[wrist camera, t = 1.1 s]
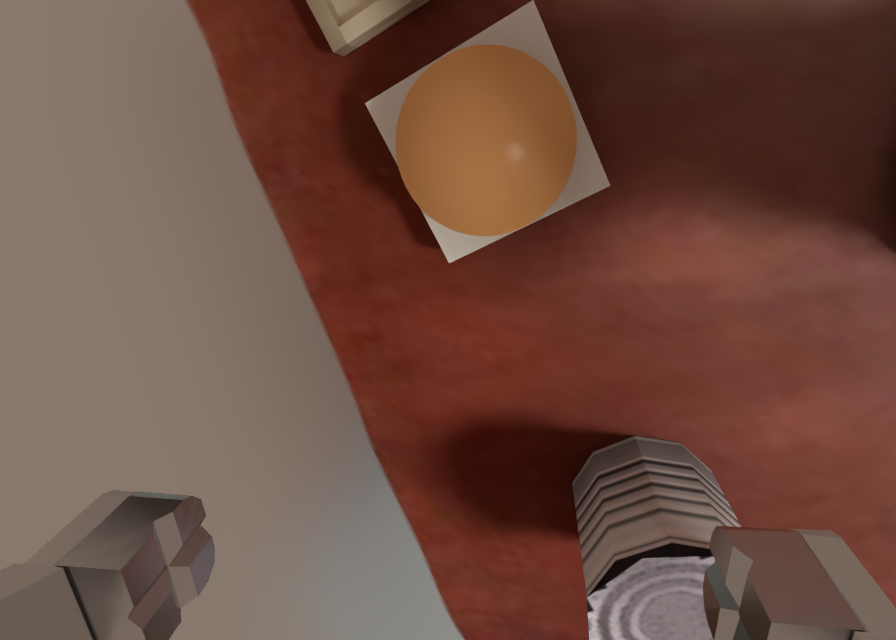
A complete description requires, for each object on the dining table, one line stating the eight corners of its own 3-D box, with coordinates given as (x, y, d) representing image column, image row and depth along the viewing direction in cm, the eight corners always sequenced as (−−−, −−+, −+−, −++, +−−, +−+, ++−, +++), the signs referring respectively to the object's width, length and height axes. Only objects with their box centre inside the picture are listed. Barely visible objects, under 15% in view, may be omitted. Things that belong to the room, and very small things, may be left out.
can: (712, 426, 39) (788, 549, 28) (720, 543, 42) (789, 692, 31) (560, 443, 41) (573, 562, 30) (579, 552, 45) (598, 694, 34)
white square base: (532, 10, 31) (533, -1, 28) (603, 180, 33) (610, 185, 31) (377, 104, 34) (364, 103, 31) (454, 252, 37) (449, 263, 34)
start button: (528, 10, 27) (529, 3, 26) (601, 184, 30) (605, 187, 28) (370, 106, 30) (362, 105, 28) (450, 257, 32) (446, 264, 31)
